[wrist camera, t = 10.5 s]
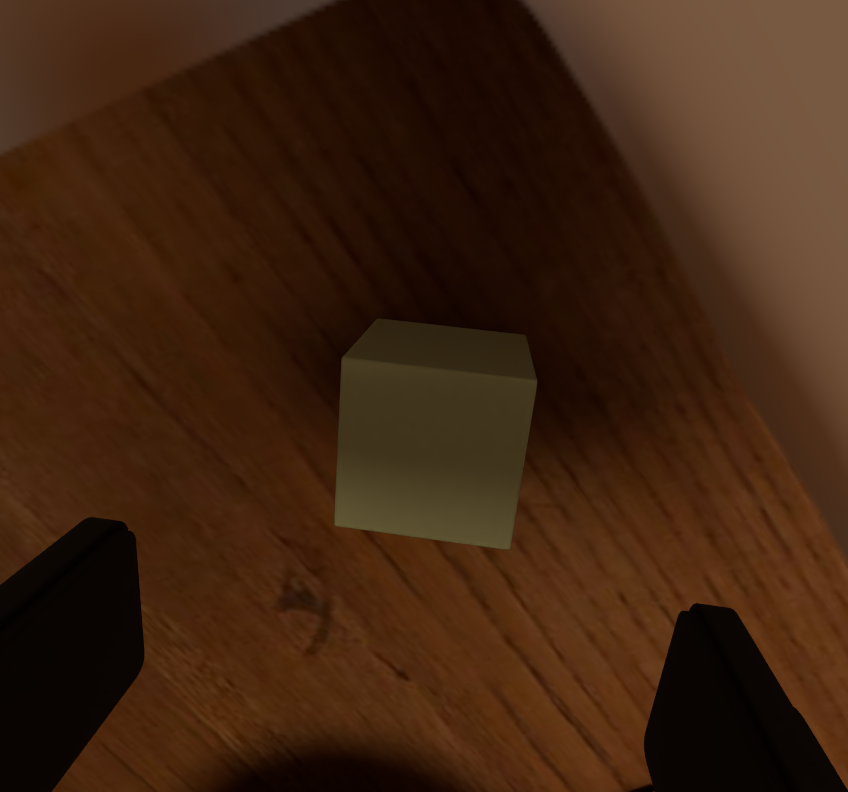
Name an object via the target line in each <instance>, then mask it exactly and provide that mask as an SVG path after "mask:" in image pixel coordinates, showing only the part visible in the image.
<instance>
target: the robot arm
mask: <svg viewBox="0 0 848 792" xmlns="http://www.w3.org/2000/svg"><path fill="white" fill-rule="evenodd" d="M143 661H144V640H143V627H142V614H141V601H140V588H139V575H138V562H137V549H136V538H135V535H134V533H133V532H131V531H128V528H127V526H126V524H125V523H124V522H122V521H116V520H109V519H102V518H95V517H90V518H87V519H85V520H83V521H82V522H80V523H79V524H78V525H77V526H75V527H74V528H73V529H71V530H70V531H69V532H68V533H66V534H65V535H64V536H63V537H61V538H60V539H59V540H57V541H56V542H55V543H54V544H52V545H51V546H50V547H48V548H47V549H46V550H45V551H43V552H42V553H41V554H39V555H38V556H37V557H36V558H34V559H33V560H32V561H31V562H29V563H28V564H27V565H25V566H24V567H23V568H22V569H20V570H19V571H18V572H16V573H15V574H14V575H13V576H11V577H10V578H9V579H7V580H6V581H5V582H4V583H2V584H1V585H0V792H52V790H53V789H54V788H55V786H56V785H57V784H58V782H59V781H60V780H61V778H62V777H63V776H64V774H65V773H66V772H67V770H68V769H69V768H70V766H71V765H72V764H73V762H74V761H75V760H76V758H77V757H78V756H79V754H80V753H81V751H82V750H83V749H84V747H85V746H86V745H87V743H88V742H89V741H90V739H91V738H92V737H93V735H94V734H95V733H96V731H97V730H98V729H99V727H100V726H101V725H102V723H103V722H104V721H105V719H106V718H107V717H108V715H109V714H110V713H111V711H112V710H113V708H114V707H115V706H116V704H117V703H118V702H119V700H120V699H121V698H122V696H123V695H124V694H125V692H126V691H127V690H128V688H129V687H130V686H131V684H132V683H133V682H134V680H135V679H136V677H137V676H138V674H139V672H140V670H141V668H142V665H143ZM644 751H645V758H646V762H647V766H648V769H649V773H650V776H651V780H652V784H653V787H654V791H655V792H848V790H847V788H846V787H845V785H844V783H843V782H842V780H841V779H840V777H839V775H838V774H837V772H836V770H835V769H834V767H833V765H832V764H831V762H830V760H829V759H828V757H827V756H826V754H825V752H824V751H823V749H822V747H821V746H820V744H819V742H818V741H817V739H816V737H815V736H814V734H813V733H812V731H811V729H810V728H809V726H808V724H807V723H806V721H805V719H804V718H803V717H802V715H801V714H800V713H799V711H798V710H797V709H796V708H794V707H793V706H792V704H791V702H790V701H789V699H788V697H787V696H786V694H785V692H784V691H783V689H782V687H781V686H780V684H779V682H778V681H777V679H776V677H775V676H774V674H773V672H772V671H771V669H770V667H769V666H768V664H767V662H766V661H765V659H764V657H763V656H762V654H761V652H760V651H759V649H758V648H757V646H756V644H755V643H754V641H753V639H752V638H751V636H750V634H749V633H748V631H747V629H746V628H745V626H744V624H743V623H742V621H741V619H740V618H739V616H738V614H737V613H736V612H735V611H734V610H733V609H731V608H726V607H719V606H712V605H705V604H698V603H696V604H693V605H692V607H691V608H690V610H689V611H681V612H680V613H679V615H678V618H677V622H676V625H675V629H674V632H673V636H672V639H671V643H670V646H669V650H668V654H667V657H666V661H665V664H664V668H663V671H662V675H661V678H660V682H659V686H658V689H657V693H656V696H655V700H654V703H653V707H652V711H651V714H650V718H649V721H648V725H647V728H646V732H645V738H644Z"/></svg>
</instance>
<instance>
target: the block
mask: <svg viewBox="0 0 848 792" xmlns="http://www.w3.org/2000/svg"><path fill="white" fill-rule="evenodd" d="M537 383H538V382H537V378H536V374H535V370H534V366H533V362H532V358H531V354H530V350H529V346H528V342H527V337H526V335H522V334H513V333H504V332H496V331H487V330H478V329H469V328H460V327H451V326H442V325H433V324H424V323H416V322H407V321H398V320H389V319H380V318H378V319H376V320H375V322H374V323H373V324H372V325H371V326H370V327H369V328H368V329H367V330H366V332H365V333H364V334H363V335H362V336H361V337H360V338H359V339H358V341H357V342H356V343H355V344H354V345H353V346H352V347H351V348H350V349H349V351H348V352H347V353H346V354H345V355H344V356H343V357H342V360H341V382H340V405H339V427H338V450H337V472H336V495H335V518H334V524H335V526H340V527H347V528H354V529H361V530H369V531H376V532H383V533H390V534H398V535H405V536H412V537H419V538H426V539H434V540H441V541H448V542H455V543H462V544H470V545H477V546H484V547H491V548H498V549H506V550H509V549H510V547H511V541H512V535H513V529H514V523H515V517H516V511H517V504H518V498H519V492H520V486H521V480H522V474H523V468H524V462H525V456H526V450H527V443H528V437H529V431H530V425H531V419H532V413H533V407H534V401H535V395H536V389H537Z"/></svg>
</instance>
